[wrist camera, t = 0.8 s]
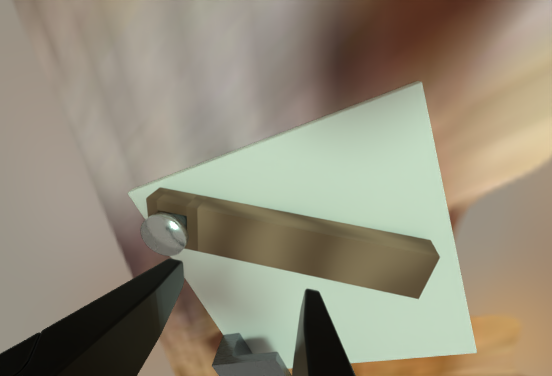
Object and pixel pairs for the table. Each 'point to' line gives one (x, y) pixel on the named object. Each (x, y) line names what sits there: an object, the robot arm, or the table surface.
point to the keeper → (246, 359)
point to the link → (302, 243)
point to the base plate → (336, 207)
